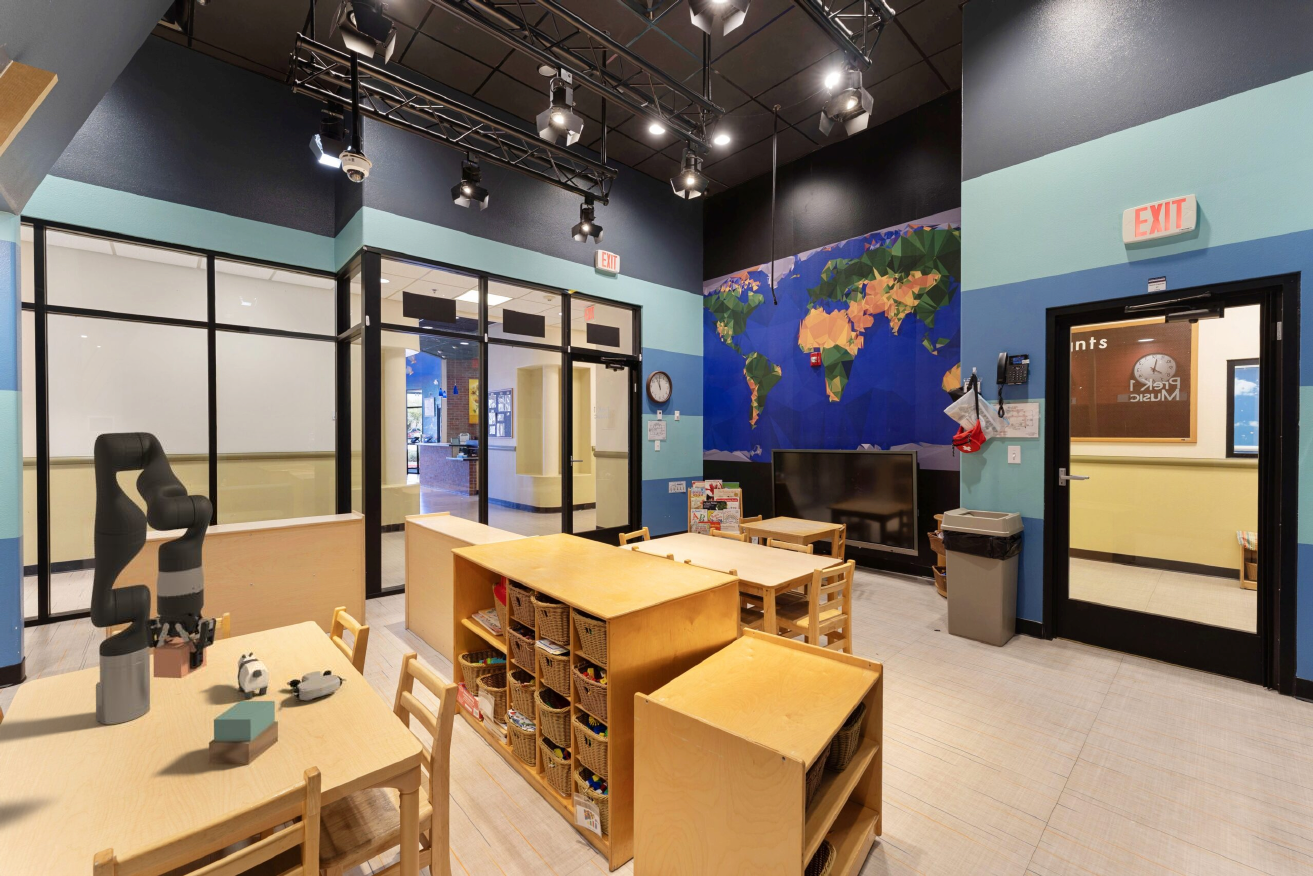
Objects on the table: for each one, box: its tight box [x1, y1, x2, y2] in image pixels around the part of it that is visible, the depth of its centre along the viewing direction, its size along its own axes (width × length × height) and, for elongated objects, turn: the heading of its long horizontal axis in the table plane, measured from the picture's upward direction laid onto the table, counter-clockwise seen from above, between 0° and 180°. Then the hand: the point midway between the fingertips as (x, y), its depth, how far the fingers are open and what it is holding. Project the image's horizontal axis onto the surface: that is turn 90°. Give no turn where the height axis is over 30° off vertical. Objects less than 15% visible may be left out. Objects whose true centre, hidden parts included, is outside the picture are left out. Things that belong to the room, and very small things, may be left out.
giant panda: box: [237, 652, 270, 701], centre depth 153 cm, size 15×6×10 cm, turn 50°
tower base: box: [208, 720, 279, 766], centre depth 124 cm, size 9×9×5 cm
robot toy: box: [286, 670, 347, 701], centre depth 152 cm, size 12×4×15 cm
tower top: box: [213, 700, 276, 742], centre depth 124 cm, size 8×8×5 cm
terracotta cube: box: [152, 637, 207, 679], centre depth 115 cm, size 6×6×6 cm
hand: (181, 666), depth 115 cm, fingers closed on terracotta cube, 6 cm apart
